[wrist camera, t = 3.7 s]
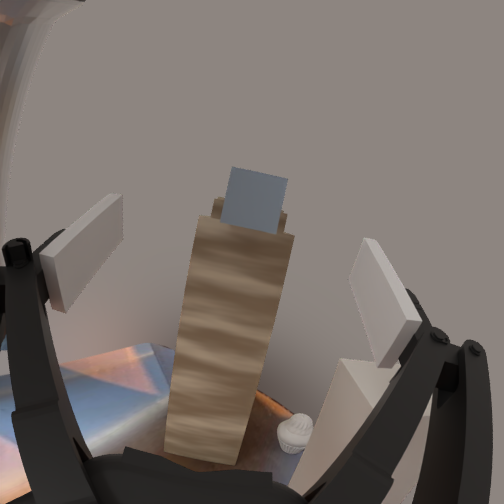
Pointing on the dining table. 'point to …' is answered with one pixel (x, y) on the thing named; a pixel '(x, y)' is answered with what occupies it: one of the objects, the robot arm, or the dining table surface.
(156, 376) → the dining table surface
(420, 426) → the white block
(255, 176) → the blue-grey bar
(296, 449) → the muffin
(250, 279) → the tall open-topped box
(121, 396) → the dining table surface
